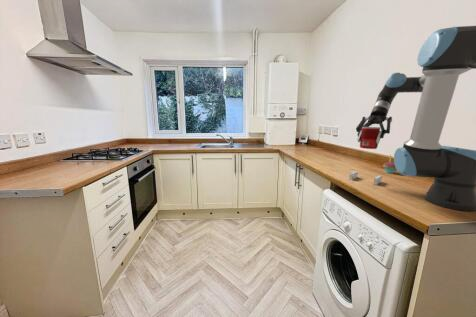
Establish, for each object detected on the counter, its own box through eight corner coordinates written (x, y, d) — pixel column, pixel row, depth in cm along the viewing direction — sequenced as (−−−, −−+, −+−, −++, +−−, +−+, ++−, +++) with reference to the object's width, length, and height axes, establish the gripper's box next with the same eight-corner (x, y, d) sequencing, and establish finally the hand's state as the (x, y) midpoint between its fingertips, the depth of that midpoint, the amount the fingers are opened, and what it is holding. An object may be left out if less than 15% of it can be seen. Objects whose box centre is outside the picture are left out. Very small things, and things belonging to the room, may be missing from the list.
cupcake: (378, 171, 137) (381, 153, 135) (390, 170, 138) (393, 153, 136) (389, 174, 129) (392, 155, 126) (401, 174, 129) (404, 155, 127)
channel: (354, 176, 122) (355, 171, 121) (381, 181, 112) (381, 175, 112) (349, 179, 116) (349, 173, 115) (376, 185, 106) (377, 178, 106)
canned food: (379, 149, 103) (382, 127, 101) (362, 148, 105) (364, 127, 103) (374, 147, 110) (376, 127, 108) (357, 146, 112) (360, 126, 110)
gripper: (403, 115, 108) (392, 148, 100) (360, 115, 123) (347, 144, 115) (403, 104, 103) (391, 138, 96) (358, 106, 118) (345, 135, 110)
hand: (367, 141), depth 105 cm, fingers closed on canned food, 8 cm apart
